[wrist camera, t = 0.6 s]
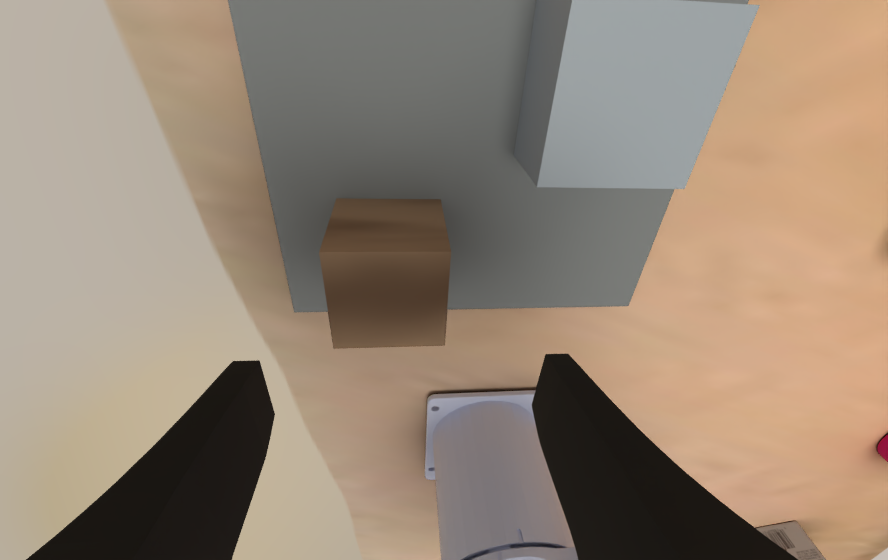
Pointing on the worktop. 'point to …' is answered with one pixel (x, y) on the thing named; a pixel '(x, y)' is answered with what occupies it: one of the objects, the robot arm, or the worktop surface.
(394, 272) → the walnut block
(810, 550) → the coffee box
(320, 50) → the mat
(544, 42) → the base block
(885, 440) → the pepper mill
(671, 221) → the worktop surface
